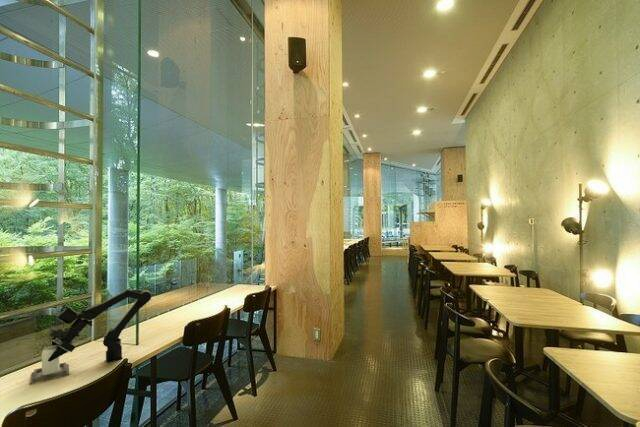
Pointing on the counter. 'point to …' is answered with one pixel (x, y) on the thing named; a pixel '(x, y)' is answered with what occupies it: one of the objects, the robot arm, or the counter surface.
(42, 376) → the holder
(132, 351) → the counter surface
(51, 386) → the counter surface
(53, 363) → the can
